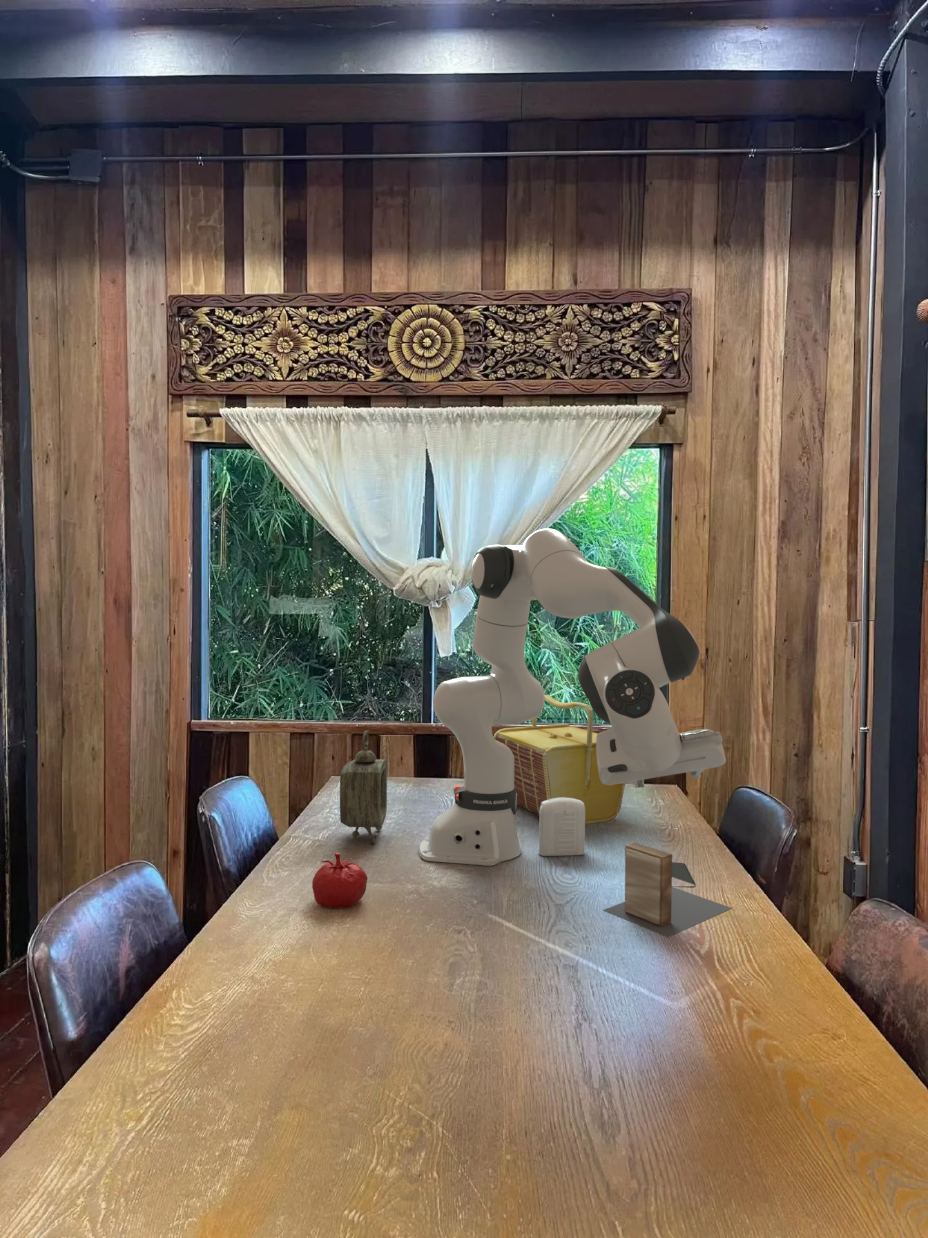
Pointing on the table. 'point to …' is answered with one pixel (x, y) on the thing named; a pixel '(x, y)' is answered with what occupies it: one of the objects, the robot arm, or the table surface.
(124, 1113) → the table surface
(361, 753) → the tabletop clock
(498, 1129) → the table surface
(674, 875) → the smartphone
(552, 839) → the photo printer
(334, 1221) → the table surface
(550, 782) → the picnic basket
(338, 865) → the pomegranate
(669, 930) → the mat
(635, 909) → the wooden block
